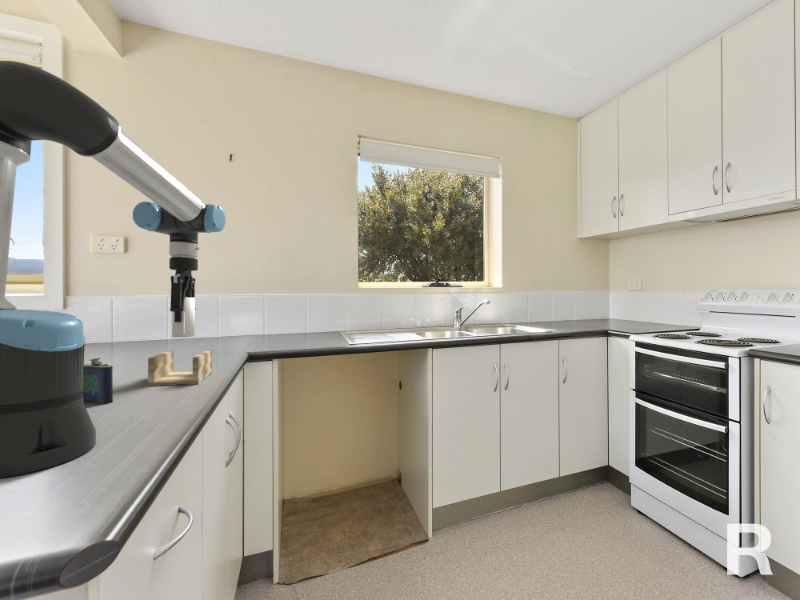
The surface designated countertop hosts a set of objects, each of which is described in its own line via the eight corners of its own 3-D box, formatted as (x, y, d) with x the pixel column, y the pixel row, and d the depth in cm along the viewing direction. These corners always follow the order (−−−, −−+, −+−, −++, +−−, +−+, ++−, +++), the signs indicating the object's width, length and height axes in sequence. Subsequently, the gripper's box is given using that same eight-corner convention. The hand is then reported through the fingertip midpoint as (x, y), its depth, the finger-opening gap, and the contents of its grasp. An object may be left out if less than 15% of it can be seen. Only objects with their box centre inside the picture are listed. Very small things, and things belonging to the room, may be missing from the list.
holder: (198, 384, 102) (198, 357, 102) (147, 386, 99) (148, 358, 99) (212, 373, 116) (212, 349, 116) (168, 375, 113) (168, 350, 112)
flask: (72, 402, 83) (72, 358, 83) (84, 399, 86) (85, 356, 86) (105, 404, 82) (106, 359, 82) (117, 401, 85) (118, 357, 85)
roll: (190, 337, 105) (191, 297, 105) (168, 337, 104) (168, 296, 104) (197, 334, 111) (197, 297, 111) (176, 335, 110) (176, 296, 109)
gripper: (186, 254, 99) (185, 335, 99) (206, 260, 117) (206, 328, 117) (156, 253, 97) (155, 335, 97) (181, 260, 115) (181, 329, 116)
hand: (183, 331), depth 107 cm, fingers closed on roll, 6 cm apart
